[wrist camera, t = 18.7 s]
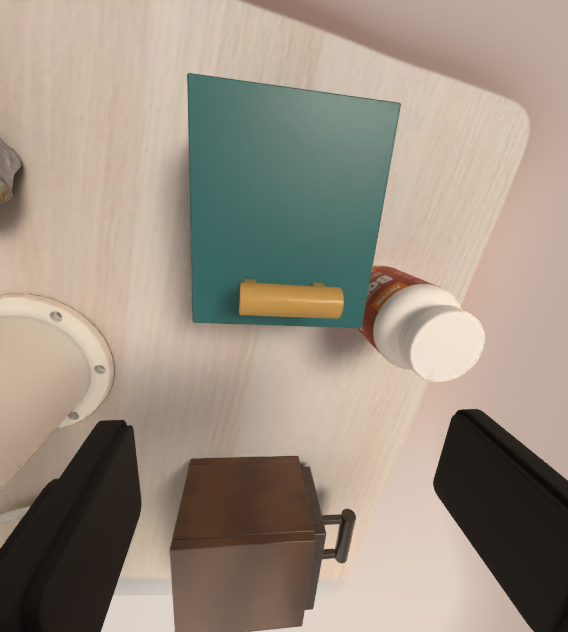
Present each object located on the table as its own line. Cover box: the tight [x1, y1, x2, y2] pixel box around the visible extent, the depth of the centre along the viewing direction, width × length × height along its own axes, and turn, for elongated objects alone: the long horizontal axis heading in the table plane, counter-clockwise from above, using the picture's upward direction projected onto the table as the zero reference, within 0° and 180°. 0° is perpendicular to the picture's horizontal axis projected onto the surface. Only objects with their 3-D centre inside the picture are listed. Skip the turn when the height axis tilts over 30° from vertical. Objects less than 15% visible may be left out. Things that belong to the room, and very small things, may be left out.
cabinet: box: [170, 456, 316, 632], centre depth 30 cm, size 12×12×9 cm
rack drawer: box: [301, 467, 356, 610], centre depth 30 cm, size 15×10×7 cm
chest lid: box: [187, 73, 401, 328], centre depth 15 cm, size 12×11×5 cm
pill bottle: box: [357, 266, 485, 382], centre depth 23 cm, size 6×6×11 cm
